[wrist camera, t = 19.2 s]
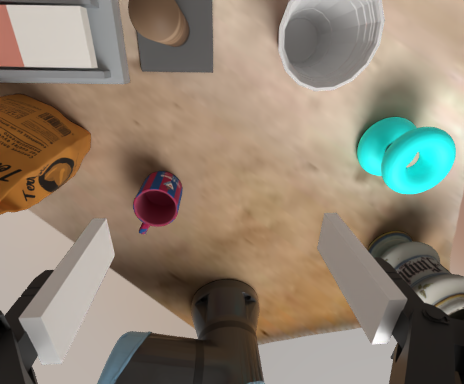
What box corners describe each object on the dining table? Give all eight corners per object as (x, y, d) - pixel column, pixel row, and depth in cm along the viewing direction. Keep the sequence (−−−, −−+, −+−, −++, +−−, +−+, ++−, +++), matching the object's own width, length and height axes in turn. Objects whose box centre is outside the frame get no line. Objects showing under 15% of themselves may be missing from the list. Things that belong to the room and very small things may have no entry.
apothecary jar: (421, 257, 58) (502, 332, 42) (368, 278, 60) (427, 359, 44) (411, 216, 53) (500, 285, 36) (354, 242, 54) (414, 317, 38)
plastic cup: (245, 57, 38) (258, 56, 27) (289, -24, 34) (325, -63, 23) (304, 97, 41) (337, 110, 30) (350, 27, 37) (407, 13, 26)
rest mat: (213, 72, 38) (213, 72, 38) (142, 71, 37) (141, 71, 37) (211, -14, 34) (211, -15, 33) (132, -17, 33) (130, -18, 32)
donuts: (376, 190, 38) (413, 122, 33) (344, 165, 46) (370, 109, 42) (434, 203, 39) (476, 138, 35) (393, 176, 48) (422, 123, 44)
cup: (189, 184, 46) (186, 203, 40) (159, 224, 49) (152, 247, 43) (156, 163, 44) (147, 180, 38) (127, 205, 47) (114, 227, 41)
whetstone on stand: (130, 82, 38) (118, 85, 33) (-18, 80, 36) (-53, 83, 32) (117, -3, 33) (101, -14, 29) (-51, -9, 32) (-98, -21, 27)
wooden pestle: (190, 47, 36) (179, 41, 23) (161, 46, 36) (132, 40, 22) (188, 12, 34) (176, -17, 21) (157, 11, 34) (124, -19, 21)
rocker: (86, 8, 29) (79, 5, 28) (97, 67, 32) (91, 68, 31) (-55, 6, 30) (-68, 3, 28) (-32, 65, 32) (-43, 65, 31)
